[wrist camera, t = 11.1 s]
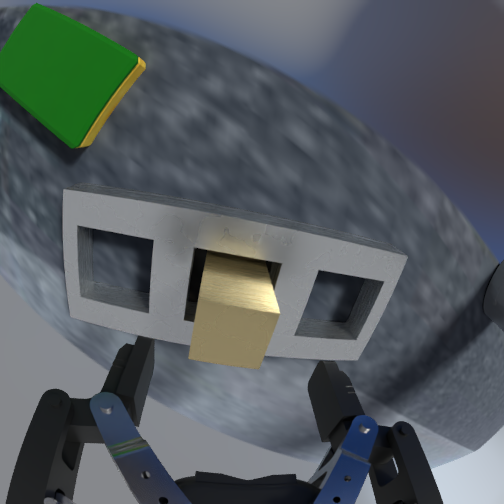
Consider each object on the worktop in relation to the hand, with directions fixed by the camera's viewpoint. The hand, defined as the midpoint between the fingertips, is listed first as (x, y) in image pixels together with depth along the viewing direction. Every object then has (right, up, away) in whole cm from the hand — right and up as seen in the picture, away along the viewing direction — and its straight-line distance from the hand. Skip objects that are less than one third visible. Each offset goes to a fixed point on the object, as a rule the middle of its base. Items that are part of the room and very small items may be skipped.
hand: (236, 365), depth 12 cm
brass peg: (-1, +4, +8) cm, 9 cm away
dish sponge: (-14, +19, +1) cm, 24 cm away
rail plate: (-1, +4, +8) cm, 9 cm away
